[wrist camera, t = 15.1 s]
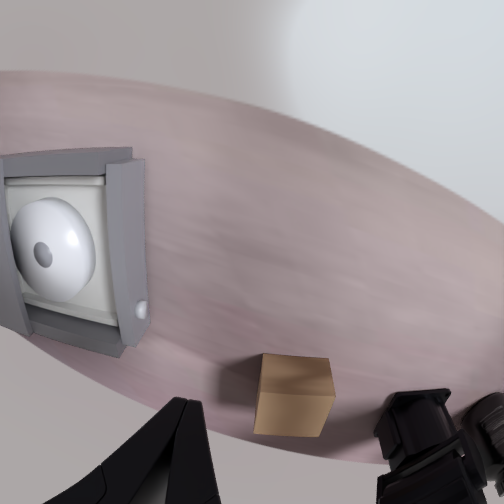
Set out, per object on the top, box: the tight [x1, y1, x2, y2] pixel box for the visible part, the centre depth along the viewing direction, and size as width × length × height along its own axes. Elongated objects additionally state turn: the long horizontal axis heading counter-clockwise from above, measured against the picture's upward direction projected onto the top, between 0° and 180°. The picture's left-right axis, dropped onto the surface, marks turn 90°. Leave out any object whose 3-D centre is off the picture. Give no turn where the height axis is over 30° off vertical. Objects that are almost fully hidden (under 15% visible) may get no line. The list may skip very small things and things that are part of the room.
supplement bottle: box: [461, 393, 504, 497], centre depth 19 cm, size 7×7×12 cm
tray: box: [4, 159, 151, 347], centre depth 18 cm, size 12×12×3 cm
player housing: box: [0, 147, 132, 358], centre depth 18 cm, size 14×13×5 cm
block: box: [253, 353, 336, 437], centre depth 21 cm, size 5×5×4 cm
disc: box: [10, 197, 96, 302], centre depth 17 cm, size 7×7×2 cm
